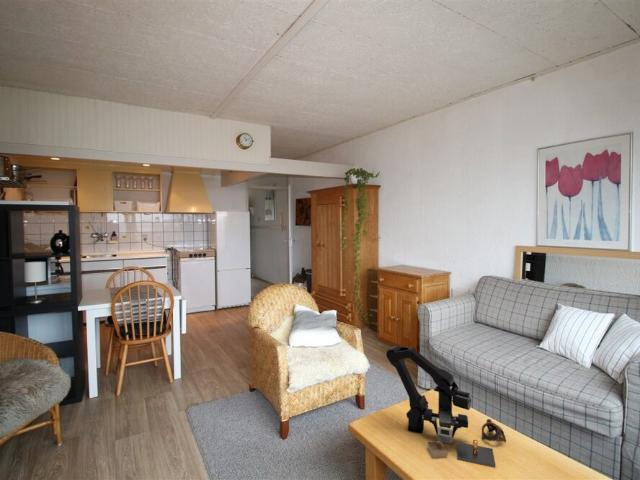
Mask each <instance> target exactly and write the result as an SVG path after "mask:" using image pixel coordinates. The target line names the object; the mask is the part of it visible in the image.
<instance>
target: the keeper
mask: <svg viewBox="0 0 640 480" xmlns="http://www.w3.org/2000/svg"><path fill="white" fill-rule="evenodd" d="M478 444H479V441H478V440H477V439H473V440H472V444H471V443H465V442H461V441H456V454H457V455H456V456H457V460H458V461H464V462H467V463H472V464H477V465H481V466H482V465H483V466H488V467H492V468H496V462H495V461H496V460H495V456H494V455H495V454H494V451H493V450H494V449H493V448H491V447H486V446H480V445H478Z"/></svg>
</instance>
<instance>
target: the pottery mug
mask: <svg viewBox="0 0 640 480" xmlns="http://www.w3.org/2000/svg"><path fill="white" fill-rule="evenodd" d="M485 428H487V430H488V432H489V433H494V434H488V433H485V431H484V430H485ZM499 437H501V438H503V440H504V442H507V439H506V435H505V431H504V429H502V427H501V426H499V425H498V424H496V423H495V422H493V421H492V420H491V419H490V418H488V419H487V420H486V422H485V423H484V424H483V425H482V426H481V438H482V439H483V440H485V441H488V442H495V441H498V442H500V439H499Z"/></svg>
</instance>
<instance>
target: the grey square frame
mask: <svg viewBox="0 0 640 480" xmlns="http://www.w3.org/2000/svg"><path fill="white" fill-rule="evenodd" d="M452 429H453V428H452ZM452 429H451V428H445V427H440V426H438V435H437V441H441V442H442V443H443V444H450V445H452V444H453V438H452Z"/></svg>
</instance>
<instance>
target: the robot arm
mask: <svg viewBox="0 0 640 480" xmlns="http://www.w3.org/2000/svg"><path fill="white" fill-rule="evenodd" d="M385 356H386V359H387V360H388V361H389V363H390V364H391V366H392V367H394V368H395V370H396V373H397V374H398V376H399V378H400V381H401V383H402V385H403V387H404V389H405V391H406V394H407V396H408V400H409V408H410V409H409V410H408V411H407V412H406V418H407V419H408V421H407V422H408V425H407V431H408V432H412V433H418V434H423V431H424V429H425V421H427V422H429V423H430V424H432V425H433V428H434V430H435V433H436V435H437V436H438V427H441V428H446V429H451V428H452V439H453V438H454V437H455V435H456V433H457V430H459V429H461V428H463V429H464V428H466V429H468V428H469V417H468V416H467V414H463V413H461V414H460V413H457V415H453V406H455V407H458V408H461V409H464V410H467V411H470V409H471V405H472V397H471V393H469V392H466V391H465V392H464V391H463V390H459V389H460V387H459V386H458V384H457V382H456V381H455V380H454V376H453V374H451V373H450V372H449V371H447V370H445V369H443V368H439V367H437V366H436V365H435V364H433V362H431V361H430V360H429V359H428V358H426V357H425V356H424V355H423V354H421V353H420V352H419V351H417V349H416V348H415V347H413V346H412V347H408V346H399V345H394V346H392V347H391V348H389V349H388V350H386V353H385ZM405 359H410V360H411V361H412V362H413V363H415V364H416V365H417V366H418V367H419V368H420V369H422V370H423V371H424V372H425V373H427V374H428V375H429V376H430V377H431V379H432V381H433V382H434V384H436V386H435V387H434V388H433V391H434V392H436V393H438V403H437V404H438V406H437V407H438V408H437V409H438V410H437V413H435V412H433V409H432V408H429V402H428V401H427V398H426V395H424V394H423V395H422V394H420V392H419V391H418V389H417V387H416V385H415V382H414V380H413V378H412V376H411V374H410V371H409V370H408V367H407V365H406V361H405Z"/></svg>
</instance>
